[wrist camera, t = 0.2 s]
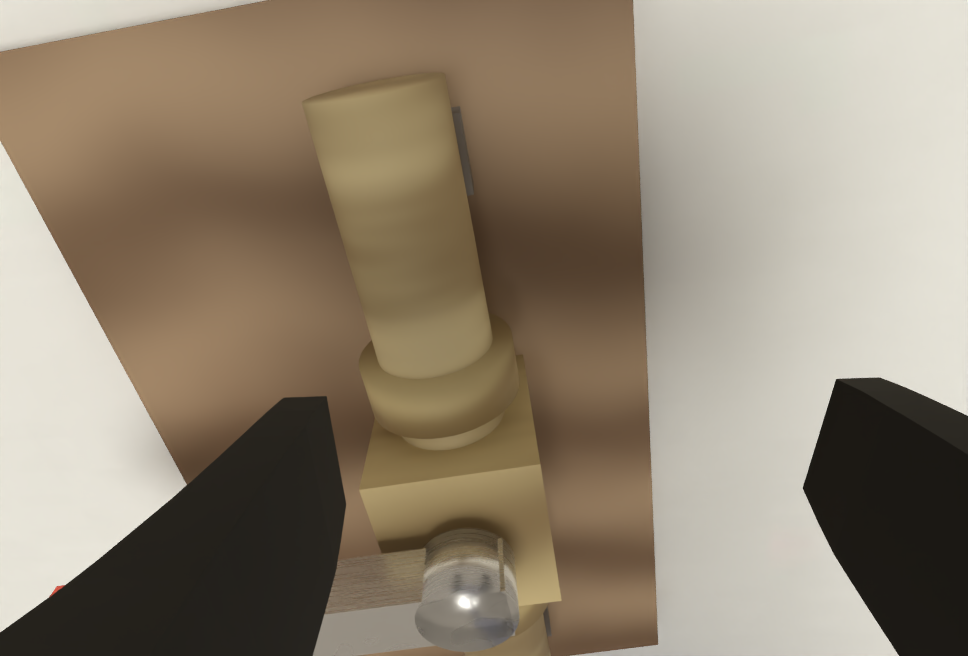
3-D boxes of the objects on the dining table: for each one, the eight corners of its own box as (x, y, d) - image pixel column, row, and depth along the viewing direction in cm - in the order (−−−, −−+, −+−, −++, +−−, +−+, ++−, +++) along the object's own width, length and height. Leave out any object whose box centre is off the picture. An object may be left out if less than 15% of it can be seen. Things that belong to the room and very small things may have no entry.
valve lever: (507, 518, 14) (512, 585, 13) (520, 583, 16) (526, 652, 14) (52, 581, 15) (1, 652, 14) (97, 639, 16) (55, 711, 15)
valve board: (651, 623, 27) (697, 777, 21) (303, 667, 27) (264, 824, 22) (620, -66, 14) (710, -105, 9) (-14, 57, 15) (-273, 86, 10)
